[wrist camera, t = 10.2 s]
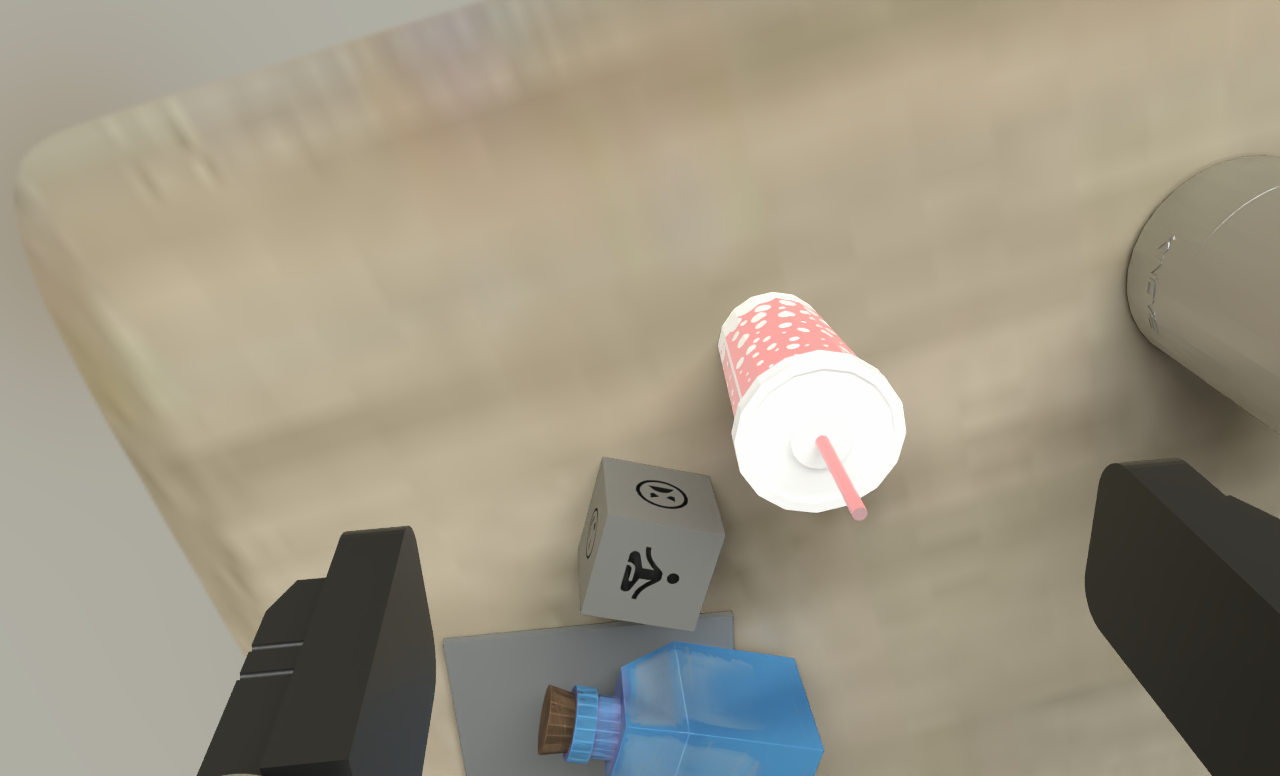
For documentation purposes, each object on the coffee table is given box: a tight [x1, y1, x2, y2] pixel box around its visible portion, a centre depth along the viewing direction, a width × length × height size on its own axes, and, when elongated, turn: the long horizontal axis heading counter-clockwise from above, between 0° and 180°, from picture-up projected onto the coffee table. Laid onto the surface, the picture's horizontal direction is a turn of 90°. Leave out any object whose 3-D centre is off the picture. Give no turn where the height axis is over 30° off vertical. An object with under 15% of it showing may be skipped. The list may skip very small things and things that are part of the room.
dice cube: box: [578, 457, 726, 632], centre depth 44 cm, size 5×5×5 cm
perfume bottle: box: [538, 641, 824, 776], centre depth 48 cm, size 6×6×12 cm
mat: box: [443, 611, 734, 776], centre depth 52 cm, size 14×14×1 cm
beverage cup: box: [718, 292, 906, 521], centre depth 37 cm, size 6×6×14 cm
